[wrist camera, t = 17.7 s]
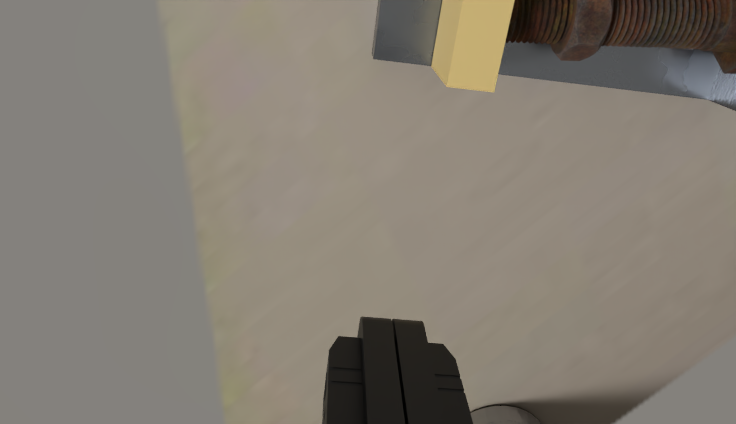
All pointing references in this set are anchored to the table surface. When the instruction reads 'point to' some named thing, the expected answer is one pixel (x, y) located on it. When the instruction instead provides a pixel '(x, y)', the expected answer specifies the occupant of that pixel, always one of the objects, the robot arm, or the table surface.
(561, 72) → the plate
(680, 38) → the bolt
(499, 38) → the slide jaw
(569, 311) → the table surface
